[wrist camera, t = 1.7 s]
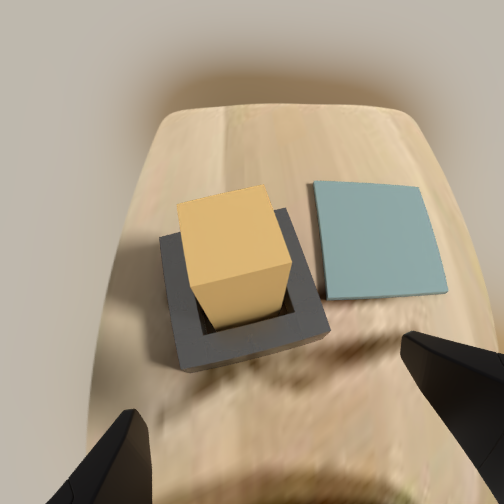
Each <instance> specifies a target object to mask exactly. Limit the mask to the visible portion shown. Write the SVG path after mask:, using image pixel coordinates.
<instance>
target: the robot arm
mask: <svg viewBox="0 0 504 504" xmlns="http://www.w3.org/2000/svg"><path fill="white" fill-rule="evenodd" d="M400 355H401V358H402V360H403V362H404V364H405V365H406V367H407V369H408V370H409V372H410V374H411V376H412V377H413V379H414V381H415V382H416V384H417V386H418V387H419V389H420V391H421V392H422V393H423V395H424V396H425V397H426V399H427V400H428V401H429V403H430V404H431V406H432V407H433V408H434V410H435V411H436V412H437V414H438V415H439V416H440V418H441V419H442V421H443V422H444V423H445V425H446V426H447V427H448V429H449V430H450V432H451V433H452V434H453V436H454V437H455V439H456V440H457V441H458V443H459V444H460V446H461V447H462V449H463V450H464V451H465V453H466V454H467V456H468V457H469V459H470V460H471V462H472V463H473V465H474V466H475V468H476V469H477V470H478V472H479V474H480V475H481V477H482V478H483V480H484V481H485V483H486V484H487V486H488V487H489V489H490V491H491V492H492V494H493V495H494V497H495V498H496V500H497V501H498V503H499V504H504V354H501V353H496V352H493V351H489V350H485V349H481V348H477V347H473V346H469V345H465V344H461V343H457V342H454V341H450V340H446V339H442V338H439V337H435V336H431V335H427V334H424V333H420V332H416V331H410V332H408V333H406V334H404V335H403V336H402V341H401V351H400ZM46 504H152V464H151V454H150V444H149V433H148V427H147V425H146V423H145V421H144V420H143V418H142V417H141V415H140V414H139V412H138V411H137V410H136V409H127V410H124V411H123V412H122V413H121V414H120V415H119V417H118V418H117V419H116V420H115V421H114V423H113V424H112V425H111V426H110V428H109V429H108V430H107V431H106V432H105V434H104V435H103V436H102V437H101V439H100V440H99V441H98V442H97V444H96V445H95V446H94V447H93V448H92V450H91V451H90V452H89V453H88V455H87V456H86V457H85V458H84V459H83V461H82V462H81V463H80V464H79V466H78V467H77V468H76V470H75V471H74V472H73V473H72V474H71V475H70V477H69V479H68V480H66V481H65V483H64V484H63V485H62V486H61V488H60V489H59V490H58V491H57V492H56V493H55V494H54V495H53V497H52V498H51V499H50V500H49V501H48V502H47V503H46Z"/></svg>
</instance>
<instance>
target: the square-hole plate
mask: <svg viewBox="0 0 504 504" xmlns="http://www.w3.org/2000/svg"><path fill="white" fill-rule="evenodd" d="M274 213H275V216H276V219H277V221H278V224H279V227H280V230H281V232H282V235H283V238H284V241H285V243H286V246H287V249H288V252H289V255H290V258H291V260H292V265H291V269H290V273H289V277H288V282H287V286H286V290H285V294H284V298H283V300H284V303H285V306H286V309H287V313H288V314H287V315H283V316H280V317H276V318H272V319H268V320H265V321H261V322H257V323H253V324H249V325H245V326H241V327H237V328H233V329H229V330H225V331H221V332H216V333H212V334H207V330H206V325H205V321H204V316H203V311H202V307H201V305H200V303H199V301H198V300H197V298H196V296H195V294H194V293H193V291H192V289H191V288H190V283H189V278H188V272H187V267H186V261H185V255H184V249H183V243H182V237H181V232H178V233H174V234H170V235H166V236H162V237H159V240H160V249H161V257H162V264H163V272H164V279H165V285H166V292H167V298H168V305H169V311H170V316H171V322H172V328H173V333H174V338H175V344H176V349H177V354H178V359H179V363H180V368H181V370H183V371H186V372H189V373H193V372H198V371H203V370H208V369H213V368H217V367H222V366H226V365H230V364H234V363H239V362H243V361H247V360H251V359H255V358H259V357H262V356H266V355H270V354H274V353H277V352H281V351H284V350H288V349H291V348H295V347H298V346H302V345H305V344H308V343H311V342H315V341H318V340H321V339H323V338H324V337H325V336H326V335H327V334H328V333H329V332H330V331H331V329H330V326H329V323H328V321H327V318H326V315H325V312H324V309H323V306H322V303H321V300H320V298H319V295H318V292H317V289H316V286H315V284H314V281H313V278H312V275H311V273H310V270H309V267H308V264H307V262H306V259H305V256H304V254H303V251H302V248H301V246H300V243H299V240H298V238H297V235H296V233H295V230H294V227H293V225H292V222H291V220H290V217H289V215H288V212H287V210H286V208H282V209H277V210H274Z"/></svg>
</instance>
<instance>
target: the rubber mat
mask: <svg viewBox="0 0 504 504" xmlns="http://www.w3.org/2000/svg"><path fill="white" fill-rule="evenodd" d="M313 187H314V194H315V201H316V208H317V216H318V224H319V232H320V240H321V249H322V258H323V267H324V278H325V288H326V300H348V299H371V298H390V297H406V296H421V295H434V294H445V293H447V292H448V286H447V282H446V277H445V273H444V269H443V265H442V261H441V257H440V253H439V250H438V246H437V242H436V239H435V236H434V232H433V229H432V226H431V222H430V219H429V216H428V213H427V210H426V207H425V204H424V201H423V198H422V196H421V193H420V190H419V187H411V186H400V185H387V184H373V183H356V182H336V181H314V183H313Z"/></svg>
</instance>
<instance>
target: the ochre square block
mask: <svg viewBox="0 0 504 504" xmlns="http://www.w3.org/2000/svg"><path fill="white" fill-rule="evenodd" d="M177 211H178V218H179V224H180V231H181V237H182V243H183V249H184V255H185V261H186V267H187V272H188V278H189V283H190V288H191V289H192V291H193V293H194V294H195V296H196V298H197V300H198V301H199V303H200V305H201V307H202V308H203V310H204V312H205V313H206V315H207V317H208V318H209V320H210V322H211V323H212V325H213V327H214V328H215V330H216V332H220V331H224V330H228V329H232V328H236V327H241V326H245V325H248V324H252V323H256V322H260V321H264V320H268V319H272V318H275V317H279V314H280V310H281V306H282V302H283V298H284V294H285V290H286V286H287V282H288V277H289V273H290V269H291V265H292V260H291V258H290V255H289V252H288V249H287V246H286V243H285V241H284V238H283V235H282V232H281V230H280V227H279V224H278V221H277V219H276V216H275V213H274V210H273V208H272V205H271V202H270V200H269V197H268V194H267V192H266V189H265V186H264V184H263V185H258V186H254V187H249V188H244V189H240V190H235V191H230V192H226V193H222V194H217V195H213V196H209V197H204V198H200V199H196V200H192V201H188V202H184V203H180V204H177Z"/></svg>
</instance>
